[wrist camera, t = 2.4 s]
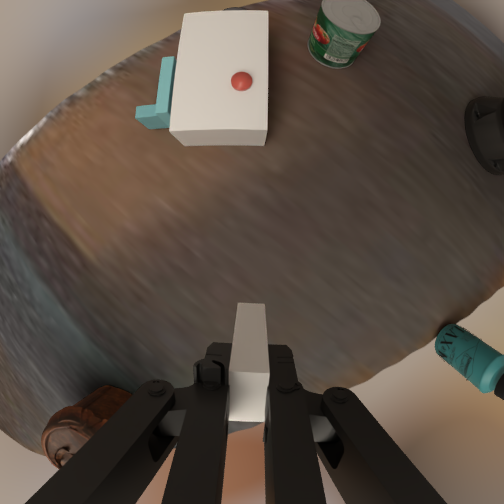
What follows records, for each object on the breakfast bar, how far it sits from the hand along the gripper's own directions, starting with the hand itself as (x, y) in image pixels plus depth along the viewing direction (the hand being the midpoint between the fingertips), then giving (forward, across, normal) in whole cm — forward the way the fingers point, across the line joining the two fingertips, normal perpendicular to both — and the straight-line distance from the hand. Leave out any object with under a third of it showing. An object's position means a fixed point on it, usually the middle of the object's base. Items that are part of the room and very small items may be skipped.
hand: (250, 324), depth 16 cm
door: (+25, -13, +20) cm, 34 cm away
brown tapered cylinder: (+21, -23, -32) cm, 45 cm away
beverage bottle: (+23, +35, -15) cm, 44 cm away
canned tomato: (+27, +11, +31) cm, 43 cm away
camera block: (+26, -5, +22) cm, 34 cm away
